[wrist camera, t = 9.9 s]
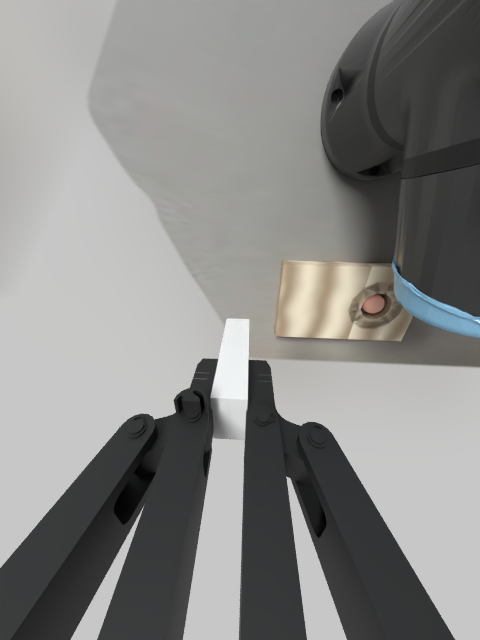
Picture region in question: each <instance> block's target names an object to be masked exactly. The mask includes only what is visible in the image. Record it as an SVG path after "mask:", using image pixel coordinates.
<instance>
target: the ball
mask: <svg viewBox="0 0 480 640" xmlns="http://www.w3.org/2000/svg"><path fill="white" fill-rule="evenodd" d="M383 307H384V299H383V298H382V297H381V296H380V295H378V294H375V295H373V296H370V297H368V298H367V299H366V300H365V301H364V302H363V304H362V308H363V310H364V311H366V312H368V313H377V312H379V311H381V310H382V309H383Z"/></svg>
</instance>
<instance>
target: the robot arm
mask: <svg viewBox="0 0 480 640" xmlns="http://www.w3.org/2000/svg"><path fill="white" fill-rule="evenodd" d="M321 134H322V140H323V145H324V148H325V151H326V153H327V156H328V157H329V159H330V161H331V162H332V164H333V165H334V166H335V167H336V168H337V169H338V170H339V171H340V172H341V173H343V174H344V175H346V176H348V177H350V178H353V179H358V180H373V179H378V178H383V177H387V176H390V175H393V174H395V173H398V172H400V171H402V177H401V183H400V196H399V210H398V223H397V235H396V245H395V255H394V256H393V261H392V268H393V272H394V294H395V297H396V299H397V301H398V302H399V303H400V304H401V305H403V307H404V308H405V310H406V311H407V312H409V313H410V314H411V315H413V316H415V317H416V318H418V319H420V320H422V321H423V322H426V323H428V324H430V325H432V326H435V327H437V328H440V329H443V330H446V331H449V332H453V333H456V334H460V335H465V336H470V337H475V338H480V0H394V1H393V2H391V3H390V4H388V5H386V6H385V7H384V8H382V9H381V10H379V11H378V12H377V13H376V14H375V15H374V16H372V17H371V18H370V19H369V20H368V21H367V22H366V23H365V25H364V26H363V27H362V28H361V29H360V30H359V31H358V33H357V34H356V35H355V36H354V38H353V39H352V40H351V42H350V43H349V45H348V47H347V48H346V50H345V51H344V53H343V55H342V56H341V58H340V59H339V61H338V63H337V65H336V67H335V69H334V71H333V73H332V75H331V77H330V80H329V82H328V85H327V88H326V92H325V95H324V100H323V105H322V112H321ZM248 357H249V319H228V318H227V321H226V325H225V330H224V335H223V340H222V345H221V349H220V354H219V359H202V361H201V362H200V363H199V364H198V365H197V368H196V371H195V374H194V377H193V380H192V383H191V386H190V388H188V389H186V390H183V391H181V392H180V393H179V394H178V395H177V396H176V397H175V399H174V404H175V409H176V413H175V414H173V415H170V416H167V417H163V418H159V419H155V420H154V419H153V417H152V416H150V415H149V414H139V415H135V416H133V417H131V418H129V419H128V420H127V421H126V422H125V423H124V424H123V425H122V426H121V427H120V428H119V429H118V430H117V432H116V433H115V434H114V435H113V436H112V438H111V439H110V440H109V441H108V442H107V443H106V445H105V446H104V447H103V448H102V449H101V450H100V452H99V453H98V454H97V455H96V456H95V457H94V459H93V460H92V461H91V462H90V463H89V465H88V466H87V467H86V468H85V469H84V471H83V472H82V473H81V474H80V475H79V476H78V478H77V479H76V480H75V481H74V482H73V483H72V485H71V486H70V487H69V488H68V489H67V490H66V492H65V493H64V494H63V495H62V496H61V498H60V499H59V500H58V501H57V502H56V504H55V505H54V506H53V507H52V508H51V509H50V510H49V512H48V513H47V514H46V515H45V516H44V517H43V519H42V520H41V521H40V522H39V523H38V525H37V526H36V527H35V528H34V529H33V530H32V532H31V533H30V534H29V535H28V537H27V538H26V539H25V540H24V541H23V542H22V543H21V545H20V546H19V547H18V548H17V549H16V550H15V552H14V553H13V554H12V555H11V556H10V558H9V559H8V560H7V561H6V562H5V563H4V565H3V566H2V567H1V568H0V640H70V639H71V637H72V636H73V634H74V632H75V630H76V628H77V626H78V624H79V623H80V621H81V619H82V617H83V616H84V614H85V612H86V610H87V608H88V606H89V605H90V603H91V601H92V599H93V597H94V595H95V594H96V592H97V590H98V588H99V586H100V585H101V583H102V581H103V579H104V577H105V575H106V574H107V572H108V570H109V568H110V566H111V564H112V563H113V561H114V559H115V557H116V555H117V554H118V552H119V550H120V548H121V546H122V544H123V543H124V541H125V539H126V537H127V535H128V534H129V532H130V530H131V528H132V526H133V524H134V522H135V521H136V519H137V517H138V515H139V514H140V512H141V510H142V508H143V506H144V508H143V511H142V514H141V517H140V520H139V522H138V525H137V528H136V531H135V534H134V537H133V540H132V542H131V546H130V548H129V551H128V554H127V557H126V560H125V563H124V565H123V568H122V571H121V574H120V577H119V580H118V582H117V585H116V588H115V591H114V594H113V597H112V600H111V602H110V605H109V608H108V611H107V614H106V617H105V619H104V623H103V625H102V628H101V631H100V634H99V636H98V639H97V640H183V634H184V627H185V621H186V614H187V608H188V602H189V595H190V589H191V582H192V576H193V569H194V563H195V557H196V549H197V544H198V537H199V531H200V524H201V518H202V511H203V505H204V499H205V492H206V486H207V480H208V473H209V467H210V460H211V453H212V445H211V444H212V438H213V437H214V438H220V439H239V440H245V452H244V487H243V489H244V490H243V520H242V521H243V523H242V557H241V558H242V559H241V589H240V592H241V593H240V625H239V626H240V627H239V640H307V637H306V629H305V621H304V613H303V605H302V598H301V590H300V582H299V574H298V566H297V558H296V550H295V543H294V534H293V526H292V518H291V511H290V503H289V495H288V487H287V479H286V476H287V477H289V478H291V480H292V484H293V486H294V489H295V492H296V495H297V498H298V500H299V503H300V506H301V509H302V512H303V515H304V518H305V521H306V524H307V526H308V529H309V532H310V535H311V538H312V541H313V543H314V546H315V549H316V552H317V555H318V558H319V560H320V564H321V566H322V569H323V572H324V575H325V578H326V580H327V584H328V586H329V589H330V592H331V595H332V597H333V601H334V603H335V606H336V609H337V612H338V615H339V618H340V621H341V623H342V626H343V629H344V632H345V635H346V638H347V640H455V639H454V637H453V636H452V634H451V632H450V630H449V629H448V627H447V625H446V624H445V622H444V620H443V619H442V617H441V615H440V614H439V612H438V610H437V609H436V607H435V605H434V604H433V602H432V601H431V599H430V597H429V595H428V594H427V592H426V590H425V589H424V587H423V586H422V584H421V582H420V580H419V579H418V577H417V575H416V574H415V572H414V570H413V569H412V567H411V565H410V563H409V562H408V560H407V559H406V557H405V555H404V554H403V552H402V550H401V549H400V547H399V545H398V543H397V542H396V540H395V538H394V537H393V535H392V533H391V532H390V530H389V529H388V527H387V525H386V523H385V522H384V520H383V518H382V517H381V515H380V513H379V512H378V510H377V508H376V507H375V505H374V503H373V501H372V500H371V498H370V496H369V495H368V493H367V492H366V490H365V488H364V486H363V485H362V484H361V481H360V480H359V478H358V477H357V475H356V473H355V471H354V470H353V468H352V466H351V465H350V463H349V461H348V460H347V458H346V456H345V455H344V453H343V451H342V450H341V448H340V446H339V445H338V443H337V441H336V440H335V438H334V436H333V435H332V433H331V432H330V431H329V430H328V429H327V428H326V427H324V426H323V425H321V424H319V423H316V422H307V423H305V424H303V425H302V426H299V425H296V424H293V423H291V422H289V421H287V420H285V419H284V418H282V417H281V416H280V415H279V414H278V412H277V410H276V407H275V402H274V393H273V385H272V376H271V368H270V366H269V364H268V363H267V361H262V360H248ZM144 504H145V505H144Z"/></svg>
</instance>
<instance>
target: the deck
mask: <svg viewBox="0 0 480 640" xmlns="http://www.w3.org/2000/svg"><path fill="white" fill-rule="evenodd" d="M375 294H383V296H384V307H383V309H382V310H381V311H379V312H377V313H361V307H362V304H363V302H364V301H365V300H366V299H367V298H368V297H370V296H373V295H375ZM412 318H413V315H411V314H410V313H409V312H407V311H406V310H405V308H404V307H403V305H401V304H400V303H399V302H398V301H397V299H396V297H395V294H394V272H393V268H392V264H387V263H352V262H316V261H282V264H281V272H280V281H279V290H278V298H277V307H276V316H275V325H274V332H275V336H282V337H307V338H332V339H357V340H382V341H401V340H402V338H403V336H404V334H405V332H406V330H407V328H408V326H409V324H410V322H411V320H412Z"/></svg>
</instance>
